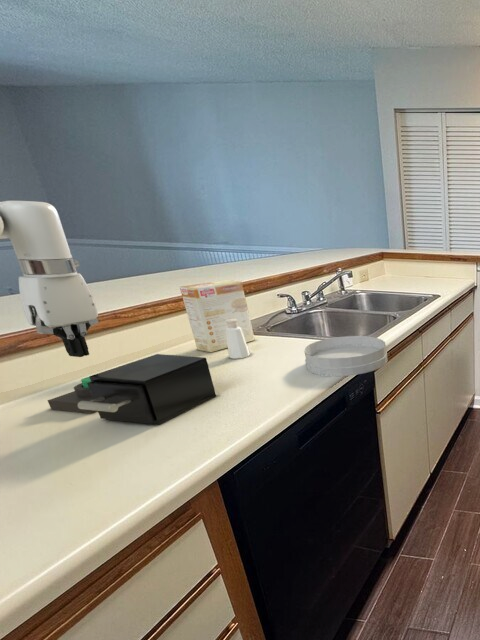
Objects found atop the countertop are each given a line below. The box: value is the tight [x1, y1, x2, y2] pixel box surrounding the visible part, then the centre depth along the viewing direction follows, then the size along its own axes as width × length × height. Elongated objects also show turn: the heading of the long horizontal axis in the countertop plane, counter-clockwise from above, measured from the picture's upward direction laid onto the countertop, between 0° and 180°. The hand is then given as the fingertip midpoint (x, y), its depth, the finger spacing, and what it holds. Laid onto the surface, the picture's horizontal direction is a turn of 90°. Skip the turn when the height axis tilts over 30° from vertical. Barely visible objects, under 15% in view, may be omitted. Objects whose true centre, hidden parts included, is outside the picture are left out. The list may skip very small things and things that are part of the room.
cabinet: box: [88, 353, 217, 426], centre depth 91 cm, size 15×13×10 cm
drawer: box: [78, 381, 155, 424], centre depth 87 cm, size 18×11×8 cm, turn 171°
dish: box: [303, 335, 388, 377], centre depth 121 cm, size 22×22×5 cm
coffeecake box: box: [179, 279, 256, 353], centre depth 132 cm, size 15×7×20 cm, turn 157°
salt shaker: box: [226, 319, 251, 360], centre depth 123 cm, size 5×5×11 cm
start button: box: [80, 376, 91, 388], centre depth 94 cm, size 4×4×2 cm
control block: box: [47, 382, 97, 414], centre depth 94 cm, size 10×12×4 cm
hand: (79, 355), depth 91 cm, fingers closed
